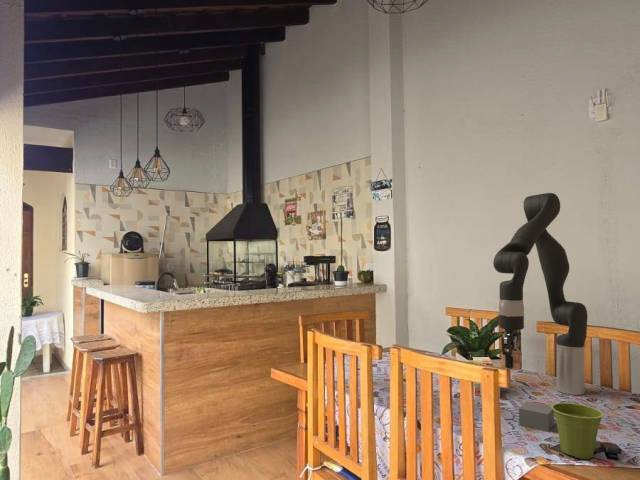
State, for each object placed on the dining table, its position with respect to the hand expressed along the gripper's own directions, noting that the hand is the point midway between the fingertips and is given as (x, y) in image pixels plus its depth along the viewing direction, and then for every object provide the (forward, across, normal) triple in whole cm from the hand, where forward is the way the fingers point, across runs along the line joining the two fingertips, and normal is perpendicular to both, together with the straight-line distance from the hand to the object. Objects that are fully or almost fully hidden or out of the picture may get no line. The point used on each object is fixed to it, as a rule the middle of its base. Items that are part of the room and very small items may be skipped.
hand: (511, 366), depth 150 cm
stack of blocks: (+15, -20, -17) cm, 30 cm away
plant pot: (+15, +21, +22) cm, 34 cm away
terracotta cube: (0, 0, 0) cm, 0 cm away
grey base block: (+15, +6, +9) cm, 18 cm away
